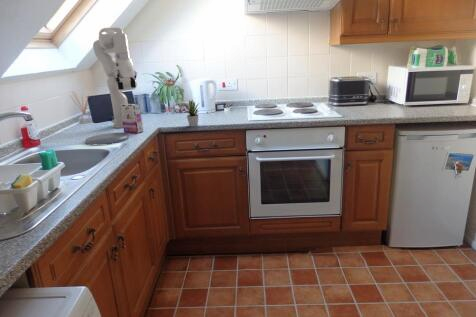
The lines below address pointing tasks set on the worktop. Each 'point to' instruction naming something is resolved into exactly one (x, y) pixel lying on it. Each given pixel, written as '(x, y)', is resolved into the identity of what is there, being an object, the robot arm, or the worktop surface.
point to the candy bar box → (131, 118)
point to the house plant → (192, 113)
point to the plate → (107, 138)
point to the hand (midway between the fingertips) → (127, 88)
